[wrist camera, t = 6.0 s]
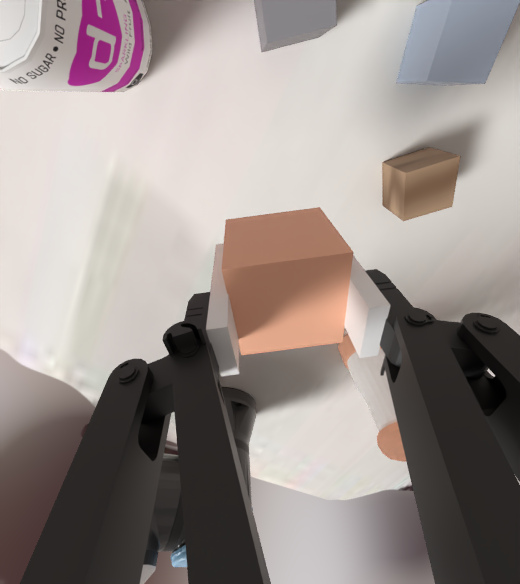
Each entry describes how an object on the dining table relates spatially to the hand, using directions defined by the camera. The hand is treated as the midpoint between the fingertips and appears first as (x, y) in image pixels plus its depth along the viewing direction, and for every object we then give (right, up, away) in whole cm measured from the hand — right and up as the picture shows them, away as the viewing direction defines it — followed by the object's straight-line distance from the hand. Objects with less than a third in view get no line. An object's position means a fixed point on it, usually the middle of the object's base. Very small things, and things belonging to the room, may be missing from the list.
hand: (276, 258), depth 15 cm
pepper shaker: (+17, -11, +32) cm, 38 cm away
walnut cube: (+16, +11, +15) cm, 25 cm away
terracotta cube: (0, 0, 0) cm, 0 cm away
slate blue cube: (+14, +20, +8) cm, 26 cm away
